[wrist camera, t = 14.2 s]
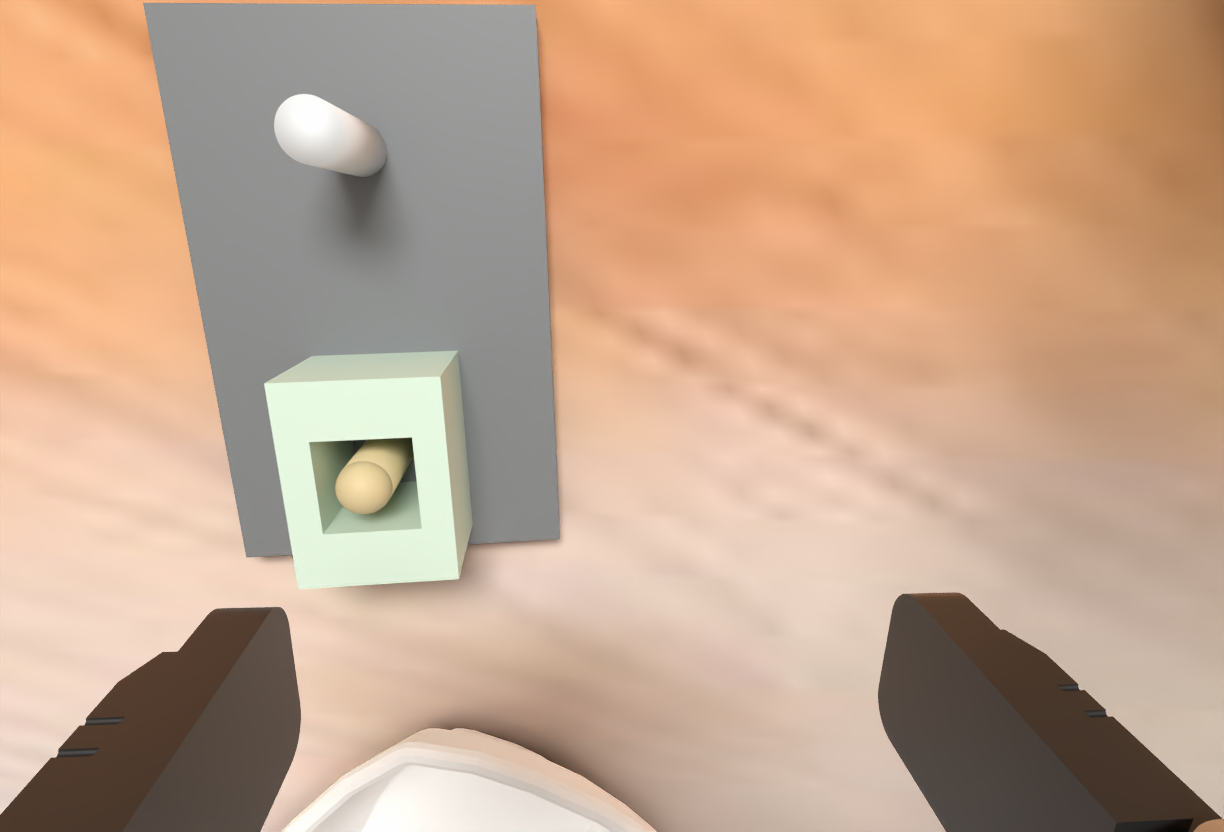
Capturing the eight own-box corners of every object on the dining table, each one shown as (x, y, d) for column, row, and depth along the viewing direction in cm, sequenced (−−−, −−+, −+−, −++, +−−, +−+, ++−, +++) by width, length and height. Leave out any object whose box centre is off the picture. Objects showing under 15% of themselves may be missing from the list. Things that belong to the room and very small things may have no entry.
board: (165, 14, 26) (19, -64, 19) (536, 16, 27) (532, -58, 20) (259, 542, 32) (177, 635, 25) (559, 525, 33) (562, 609, 26)
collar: (311, 356, 28) (264, 383, 24) (457, 350, 29) (440, 376, 24) (337, 531, 31) (298, 589, 26) (472, 523, 31) (458, 579, 26)
